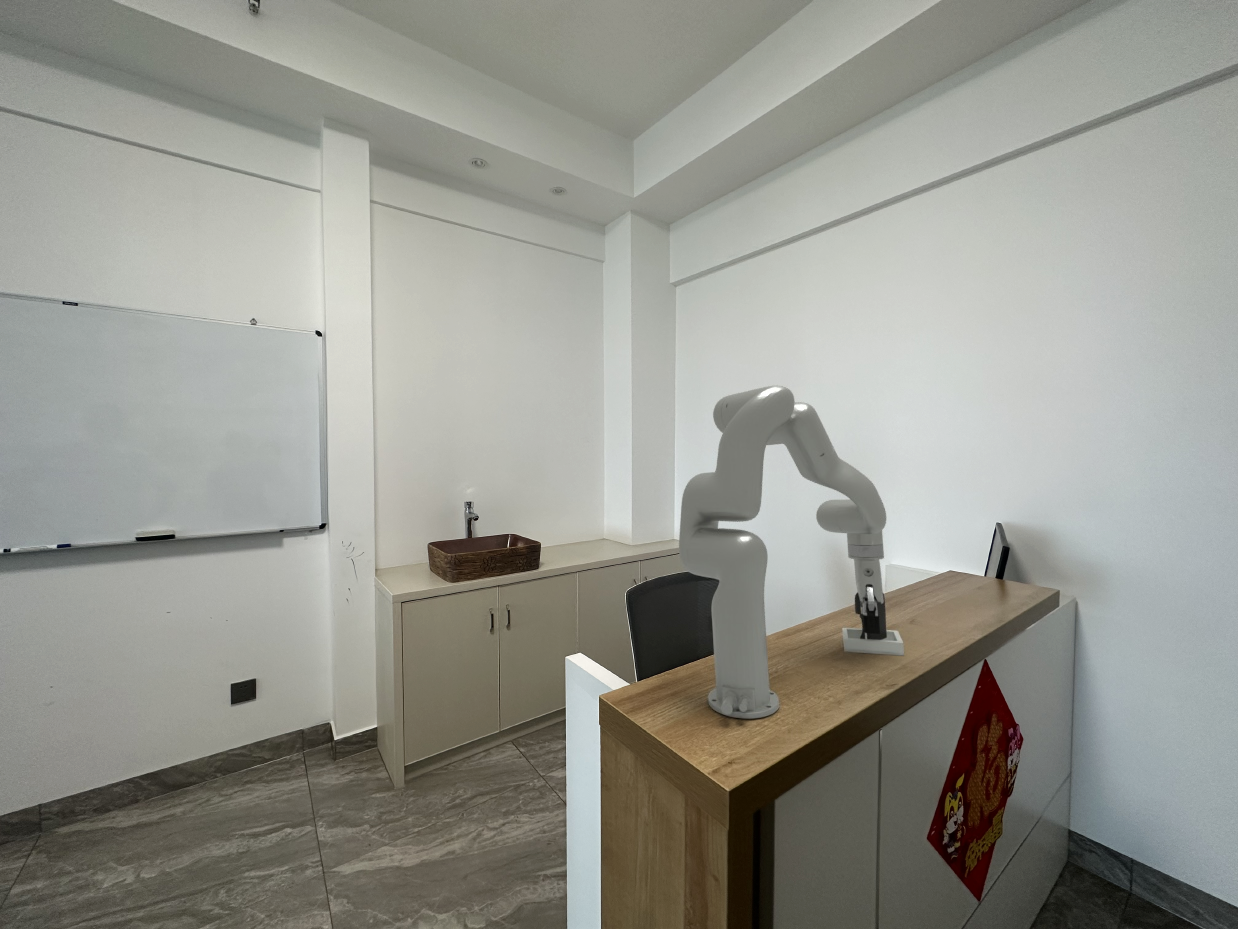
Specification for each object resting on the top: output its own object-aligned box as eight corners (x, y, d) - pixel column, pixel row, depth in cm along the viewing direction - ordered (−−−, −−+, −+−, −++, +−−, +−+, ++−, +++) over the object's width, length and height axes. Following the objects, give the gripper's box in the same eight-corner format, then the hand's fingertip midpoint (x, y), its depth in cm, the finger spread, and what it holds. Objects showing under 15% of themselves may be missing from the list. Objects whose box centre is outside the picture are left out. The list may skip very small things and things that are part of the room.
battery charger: (873, 634, 122) (870, 586, 122) (888, 638, 118) (885, 589, 119) (854, 640, 118) (851, 591, 118) (869, 644, 115) (866, 593, 115)
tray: (904, 655, 112) (903, 642, 112) (844, 651, 116) (843, 639, 116) (898, 642, 120) (897, 630, 120) (843, 639, 124) (842, 627, 125)
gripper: (888, 557, 109) (893, 641, 109) (879, 546, 125) (884, 618, 125) (849, 557, 112) (854, 638, 111) (846, 546, 128) (850, 617, 128)
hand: (870, 627), depth 118 cm, fingers closed on battery charger, 7 cm apart
